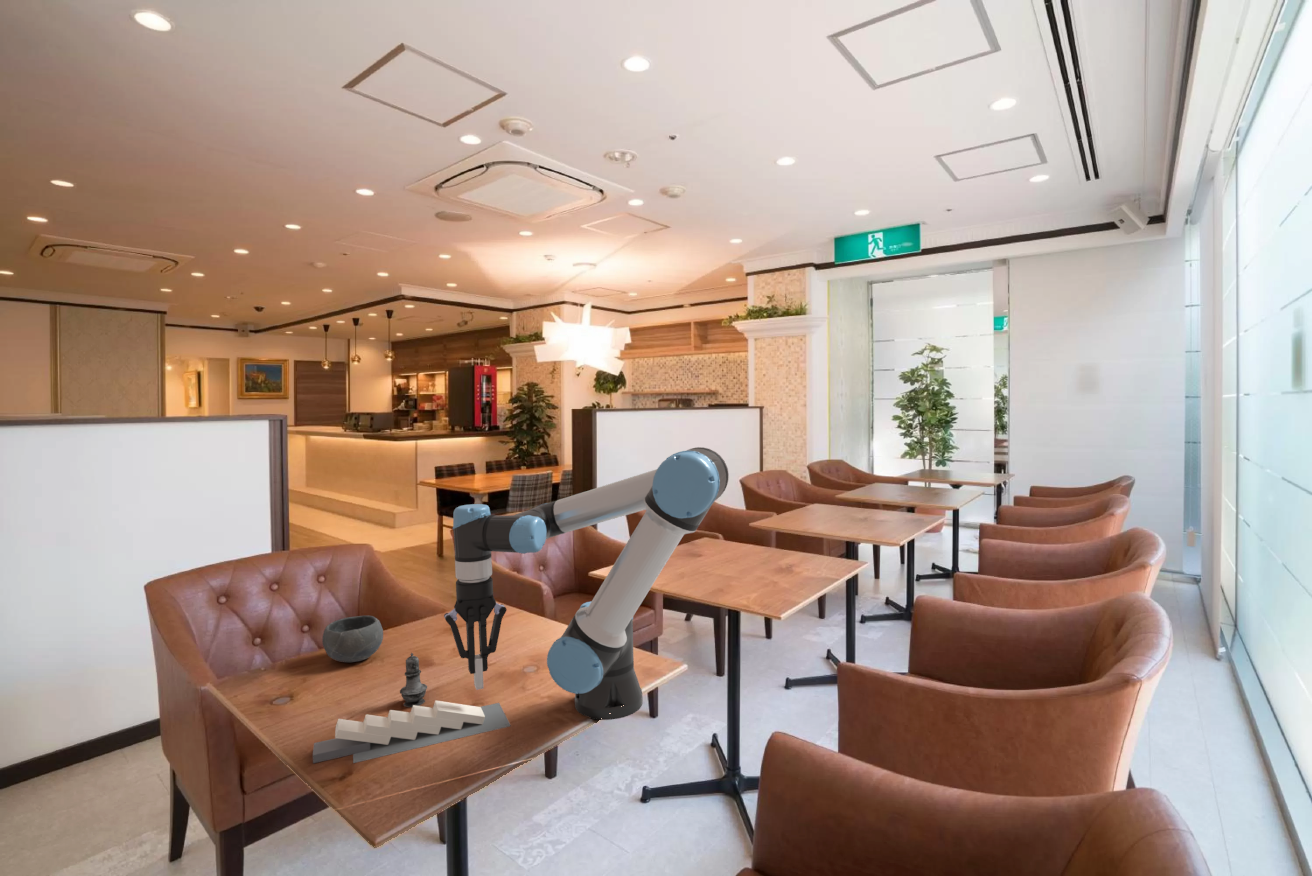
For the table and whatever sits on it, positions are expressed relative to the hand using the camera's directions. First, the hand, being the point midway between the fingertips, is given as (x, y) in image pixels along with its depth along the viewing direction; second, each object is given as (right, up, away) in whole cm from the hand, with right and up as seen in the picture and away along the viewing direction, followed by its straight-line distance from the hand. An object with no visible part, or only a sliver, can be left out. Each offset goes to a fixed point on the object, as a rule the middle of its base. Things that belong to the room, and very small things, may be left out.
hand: (478, 686), depth 139 cm
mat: (-9, -8, -4) cm, 12 cm away
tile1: (0, -6, 0) cm, 7 cm away
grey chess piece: (-17, -8, +9) cm, 21 cm away
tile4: (-12, -7, -5) cm, 15 cm away
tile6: (-19, -7, -9) cm, 23 cm away
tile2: (-4, -7, -1) cm, 8 cm away
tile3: (-8, -7, -3) cm, 11 cm away
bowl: (-44, -7, +37) cm, 58 cm away
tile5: (-16, -7, -7) cm, 19 cm away
